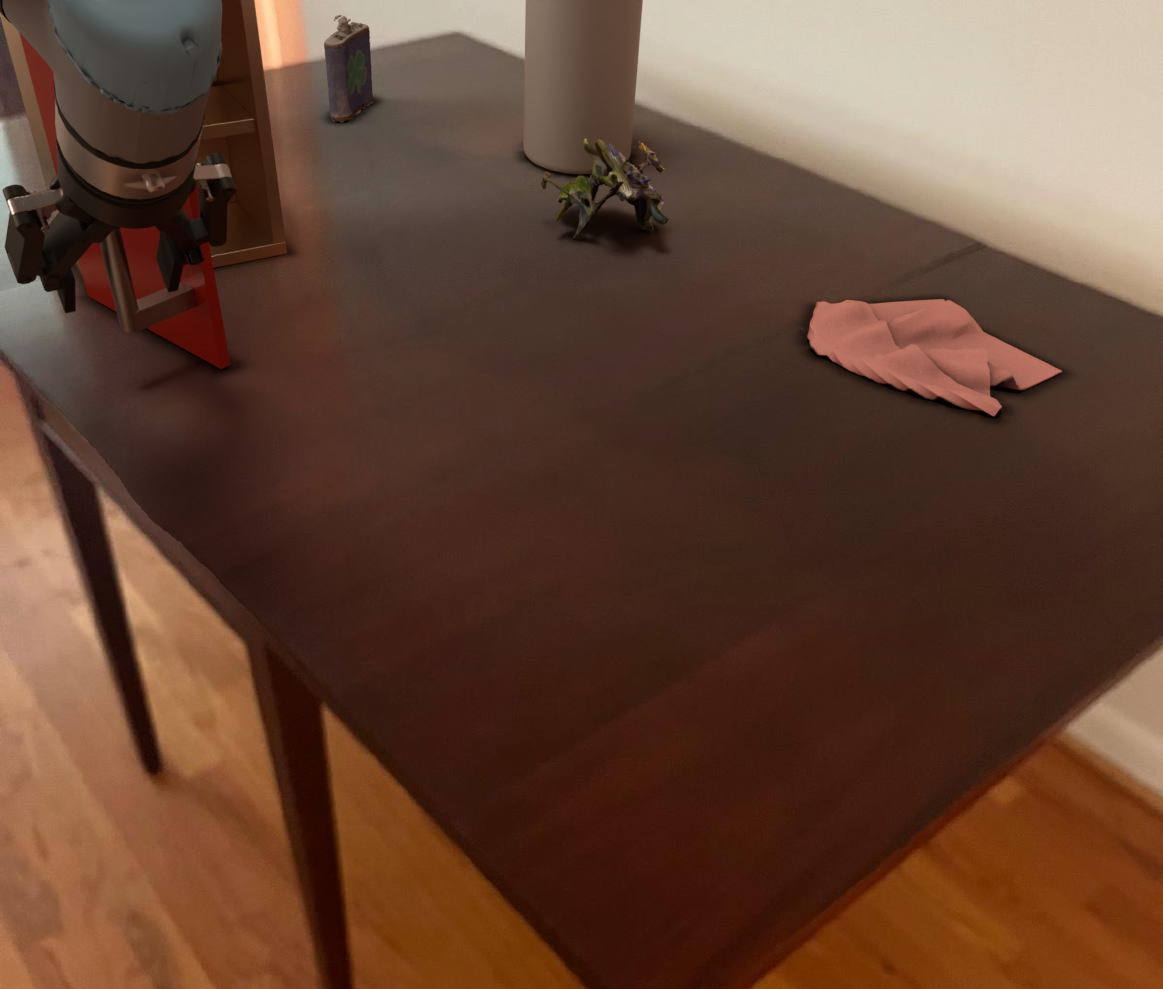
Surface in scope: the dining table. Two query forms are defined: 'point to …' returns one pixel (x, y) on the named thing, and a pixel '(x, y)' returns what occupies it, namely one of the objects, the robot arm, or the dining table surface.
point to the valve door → (142, 264)
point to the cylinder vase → (579, 79)
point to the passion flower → (613, 186)
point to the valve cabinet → (213, 136)
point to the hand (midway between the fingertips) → (116, 284)
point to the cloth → (923, 350)
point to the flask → (348, 69)
